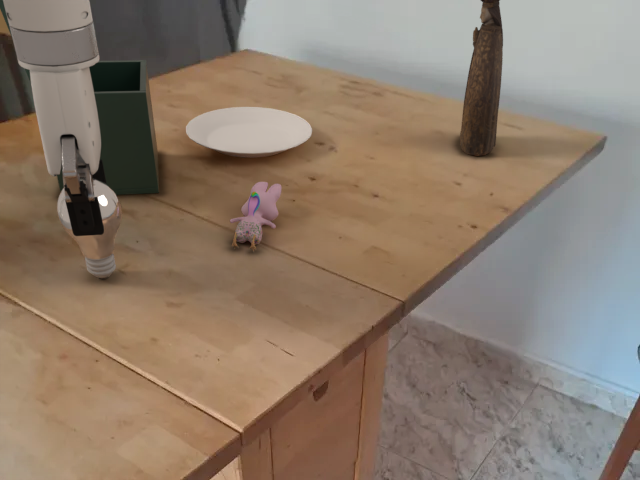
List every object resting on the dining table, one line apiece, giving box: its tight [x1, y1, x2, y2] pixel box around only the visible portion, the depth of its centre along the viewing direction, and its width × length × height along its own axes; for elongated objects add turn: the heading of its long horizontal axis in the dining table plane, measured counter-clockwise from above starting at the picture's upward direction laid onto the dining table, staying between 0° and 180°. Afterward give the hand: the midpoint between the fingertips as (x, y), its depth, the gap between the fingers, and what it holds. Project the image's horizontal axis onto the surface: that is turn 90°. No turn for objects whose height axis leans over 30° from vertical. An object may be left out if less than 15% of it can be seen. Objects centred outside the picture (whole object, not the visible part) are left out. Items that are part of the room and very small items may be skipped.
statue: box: [459, 0, 504, 157], centre depth 109 cm, size 9×8×25 cm
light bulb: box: [56, 177, 123, 280], centre depth 78 cm, size 7×7×12 cm
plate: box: [185, 106, 313, 159], centre depth 114 cm, size 21×21×2 cm
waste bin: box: [56, 59, 160, 196], centre depth 99 cm, size 14×15×14 cm
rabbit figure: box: [229, 181, 283, 253], centre depth 91 cm, size 6×6×15 cm
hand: (92, 213), depth 77 cm, fingers open, 9 cm apart
